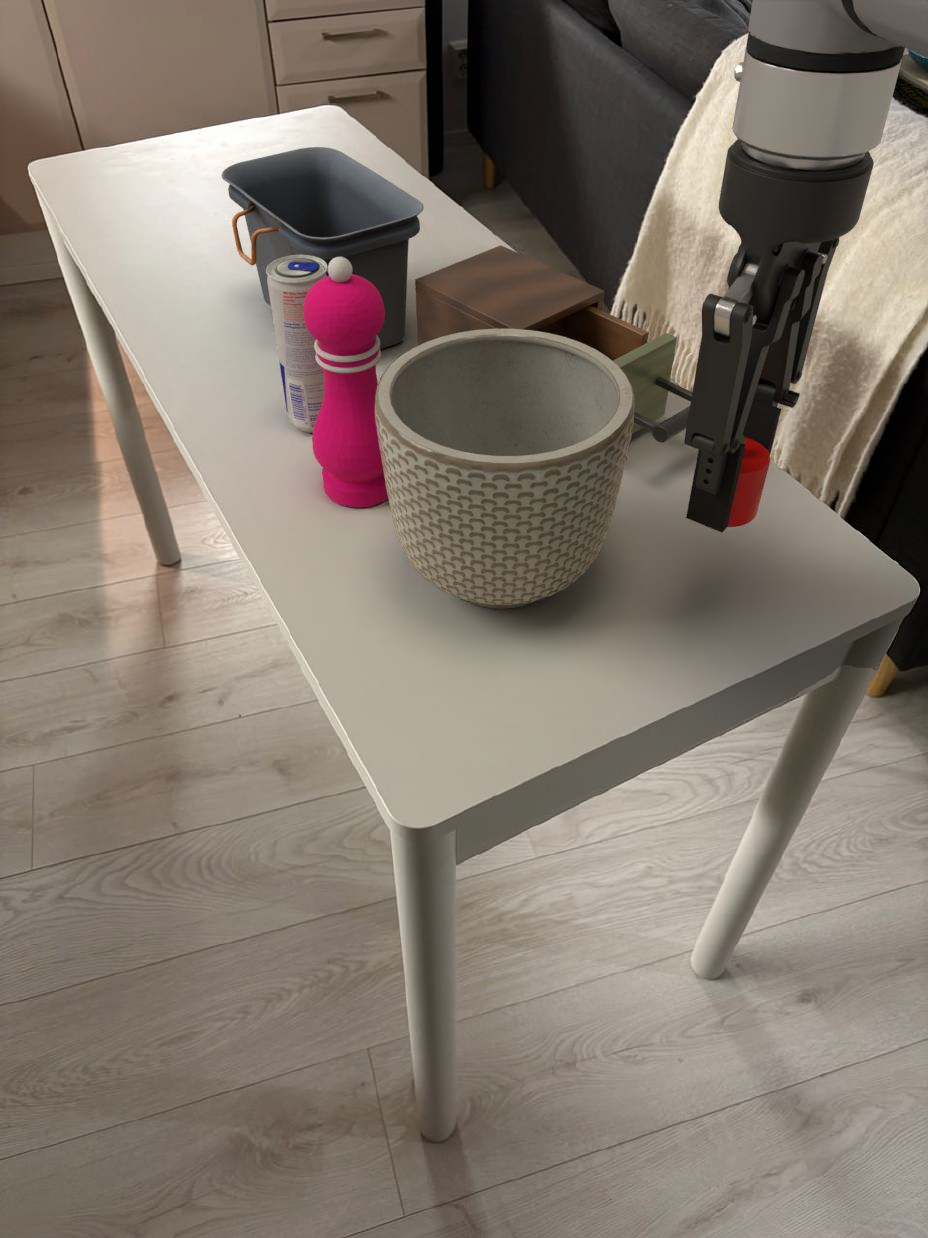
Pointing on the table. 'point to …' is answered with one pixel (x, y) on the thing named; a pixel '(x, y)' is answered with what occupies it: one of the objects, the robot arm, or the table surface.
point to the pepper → (749, 483)
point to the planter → (503, 460)
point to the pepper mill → (347, 384)
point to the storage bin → (328, 220)
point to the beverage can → (296, 336)
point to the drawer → (632, 364)
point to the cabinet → (497, 295)
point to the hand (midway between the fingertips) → (724, 503)
